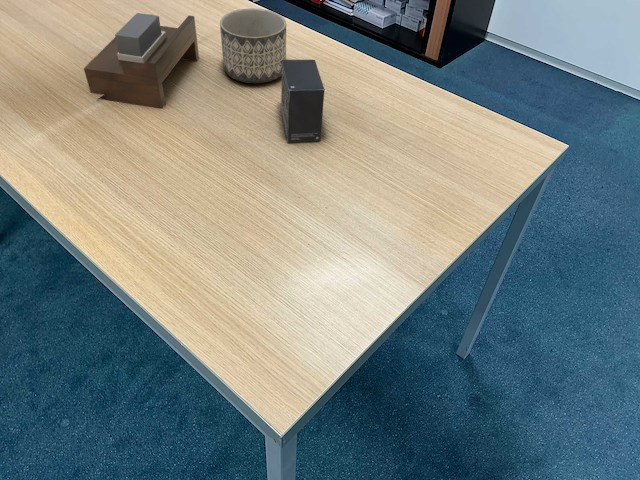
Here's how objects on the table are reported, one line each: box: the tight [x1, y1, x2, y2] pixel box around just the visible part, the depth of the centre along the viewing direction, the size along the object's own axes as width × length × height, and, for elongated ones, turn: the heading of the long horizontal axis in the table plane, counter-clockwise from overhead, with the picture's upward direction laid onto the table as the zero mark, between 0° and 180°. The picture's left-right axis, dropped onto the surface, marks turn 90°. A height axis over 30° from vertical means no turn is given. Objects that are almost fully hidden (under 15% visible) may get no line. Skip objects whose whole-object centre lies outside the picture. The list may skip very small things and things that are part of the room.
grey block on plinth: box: [114, 12, 166, 64], centre depth 103 cm, size 11×5×5 cm, turn 169°
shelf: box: [83, 14, 200, 109], centre depth 105 cm, size 14×20×9 cm
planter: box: [219, 7, 287, 84], centre depth 108 cm, size 13×13×10 cm
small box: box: [280, 59, 325, 143], centre depth 96 cm, size 11×6×10 cm, turn 9°
